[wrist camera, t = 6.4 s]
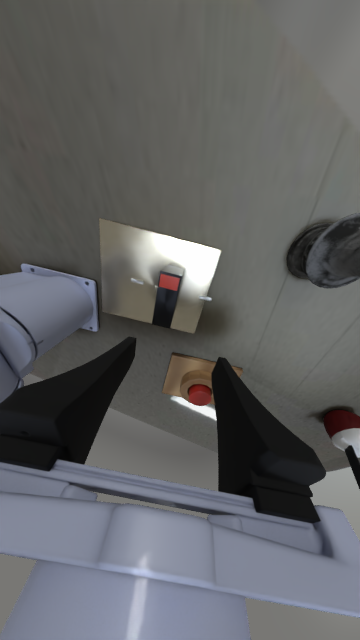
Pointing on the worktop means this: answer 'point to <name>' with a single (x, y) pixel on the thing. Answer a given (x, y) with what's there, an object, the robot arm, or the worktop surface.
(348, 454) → the cocoa
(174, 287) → the knob
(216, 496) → the robot arm
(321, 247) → the salt shaker
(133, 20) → the worktop surface
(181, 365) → the button block
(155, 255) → the panel
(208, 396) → the button
